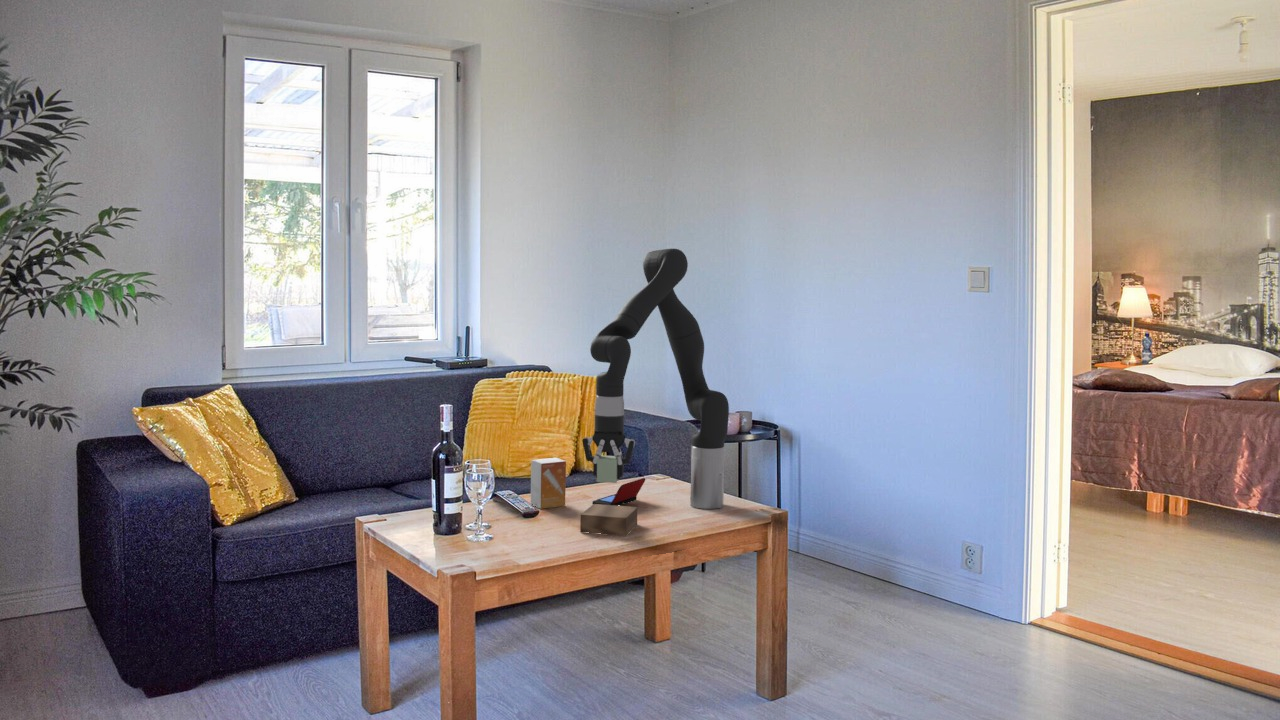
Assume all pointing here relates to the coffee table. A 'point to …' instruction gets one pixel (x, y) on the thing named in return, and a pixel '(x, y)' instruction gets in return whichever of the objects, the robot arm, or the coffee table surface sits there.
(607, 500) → the handheld game console
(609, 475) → the green block
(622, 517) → the walnut base
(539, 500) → the small box
